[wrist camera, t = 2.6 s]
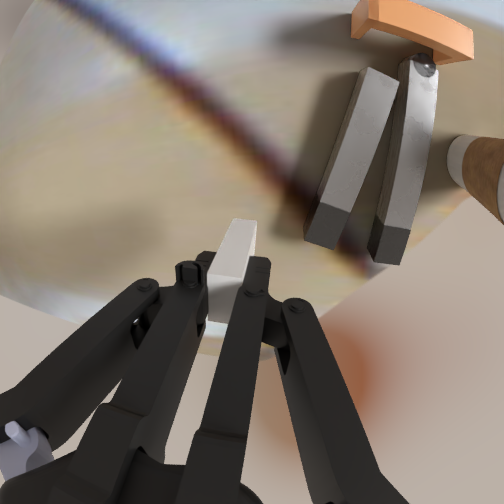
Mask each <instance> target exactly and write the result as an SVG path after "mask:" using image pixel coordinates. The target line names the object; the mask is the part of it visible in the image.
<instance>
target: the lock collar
mask: <svg viewBox="0 0 504 504" xmlns="http://www.w3.org/2000/svg"><path fill="white" fill-rule="evenodd" d="M371 28H373V29H377V30H380V31H384V32H387V33H390V34H394V35H397V36H400V37H403V38H406V39H409V40H411V41H414V42H417V43H420V44H422V45H425V46H427V47H430V48H432V49H433V61H434V63H435V64H438V65H443V64H448V63H453V62H459V61H466V60H472V59H474V50H473V30H471V29H469V28H467V27H466V26H464V25H462V24H460V23H458V22H456V21H454V20H452V19H450V18H448V17H446V16H444V15H442V14H439V13H437V12H435V11H433V10H430V9H428V8H426V7H423V6H421V5H418V4H416V3H413V2H410V1H408V0H360V1H359V2H358V4H357V5H356V7H355V8H354V10H353V11H352V22H351V38H356V39H360V38H361V37H362V36H363V35H364V34H365V33H366V32H367V31H368V30H369V29H371Z"/></svg>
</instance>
